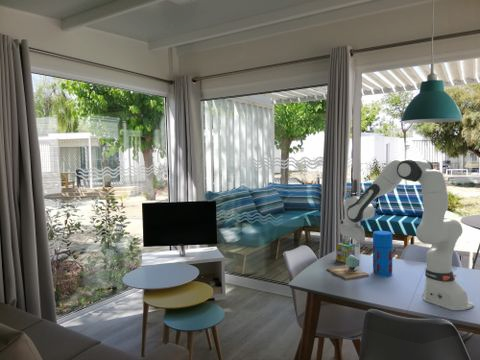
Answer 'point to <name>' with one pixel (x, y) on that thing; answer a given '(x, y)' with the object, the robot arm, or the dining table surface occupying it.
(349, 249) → the chalk box
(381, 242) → the thermos
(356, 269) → the metal door knob
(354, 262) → the rotary switch
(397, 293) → the dining table surface
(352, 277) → the board
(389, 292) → the dining table surface
